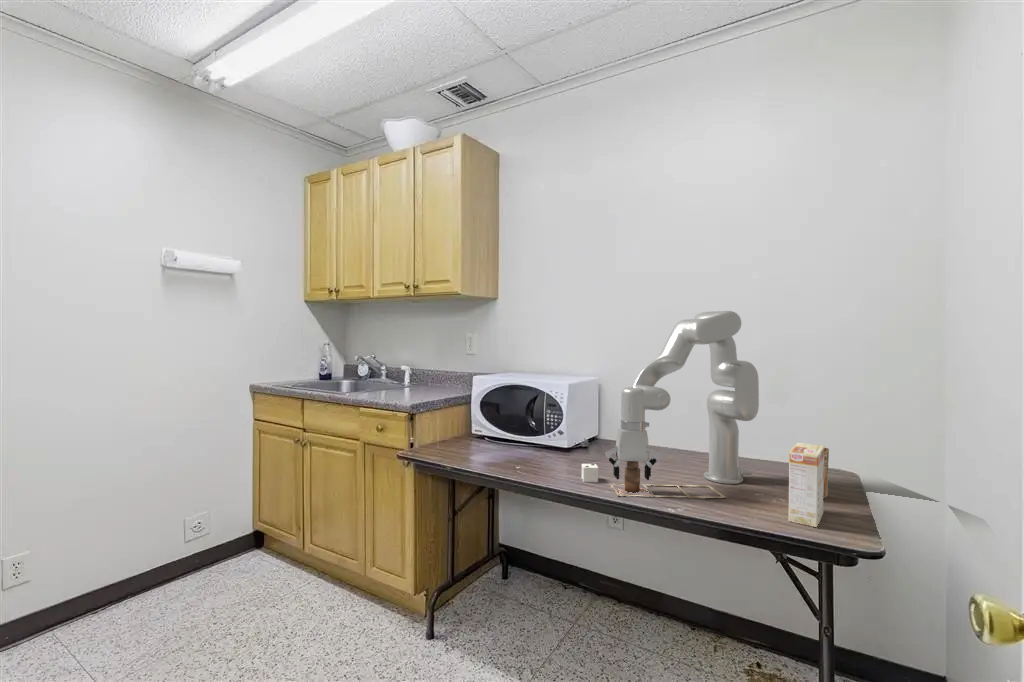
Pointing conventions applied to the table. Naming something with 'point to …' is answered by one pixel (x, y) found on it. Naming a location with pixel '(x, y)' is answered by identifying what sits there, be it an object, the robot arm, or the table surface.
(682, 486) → the board
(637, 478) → the pawn
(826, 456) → the candy box
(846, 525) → the table surface
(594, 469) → the die
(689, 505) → the table surface
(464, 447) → the table surface
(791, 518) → the coffeecake box
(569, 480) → the table surface
